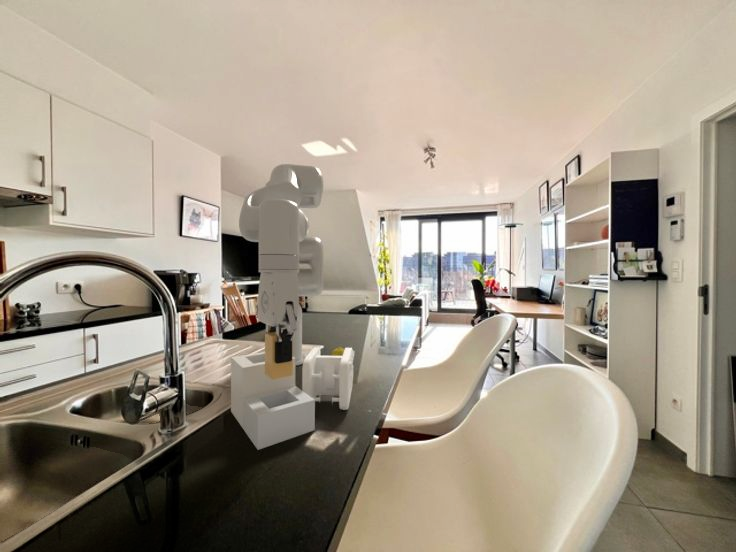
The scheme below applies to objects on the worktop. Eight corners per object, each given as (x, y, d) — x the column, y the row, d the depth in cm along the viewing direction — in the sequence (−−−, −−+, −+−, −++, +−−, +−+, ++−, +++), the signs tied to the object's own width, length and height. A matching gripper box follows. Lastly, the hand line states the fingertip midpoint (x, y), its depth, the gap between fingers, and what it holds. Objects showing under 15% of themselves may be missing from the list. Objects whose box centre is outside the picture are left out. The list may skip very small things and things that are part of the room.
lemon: (349, 370, 95) (349, 345, 95) (346, 376, 90) (346, 349, 90) (332, 369, 96) (332, 344, 96) (328, 376, 90) (328, 349, 90)
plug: (264, 373, 60) (264, 333, 60) (284, 369, 62) (284, 330, 62) (272, 379, 57) (272, 336, 57) (292, 375, 59) (292, 334, 59)
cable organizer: (314, 388, 81) (314, 344, 81) (354, 388, 81) (354, 345, 81) (301, 415, 66) (301, 361, 66) (349, 416, 66) (350, 362, 66)
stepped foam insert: (231, 411, 67) (231, 357, 67) (279, 398, 74) (279, 349, 74) (257, 449, 53) (257, 381, 53) (314, 430, 60) (315, 369, 60)
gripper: (246, 265, 64) (246, 353, 64) (276, 264, 51) (276, 374, 51) (281, 265, 68) (280, 347, 69) (317, 264, 55) (316, 366, 55)
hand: (278, 358), depth 60 cm, fingers closed on plug, 4 cm apart
